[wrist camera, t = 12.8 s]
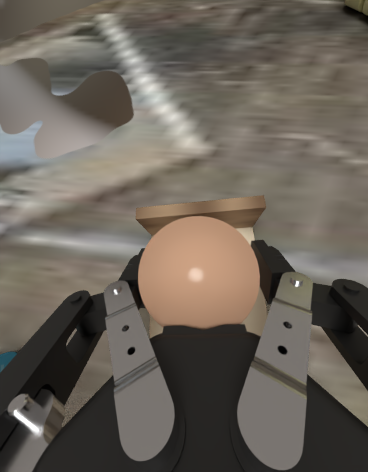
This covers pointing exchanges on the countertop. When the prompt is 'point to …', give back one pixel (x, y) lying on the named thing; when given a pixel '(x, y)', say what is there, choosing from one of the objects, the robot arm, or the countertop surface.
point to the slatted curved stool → (358, 5)
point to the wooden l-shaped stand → (227, 210)
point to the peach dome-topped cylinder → (198, 274)
